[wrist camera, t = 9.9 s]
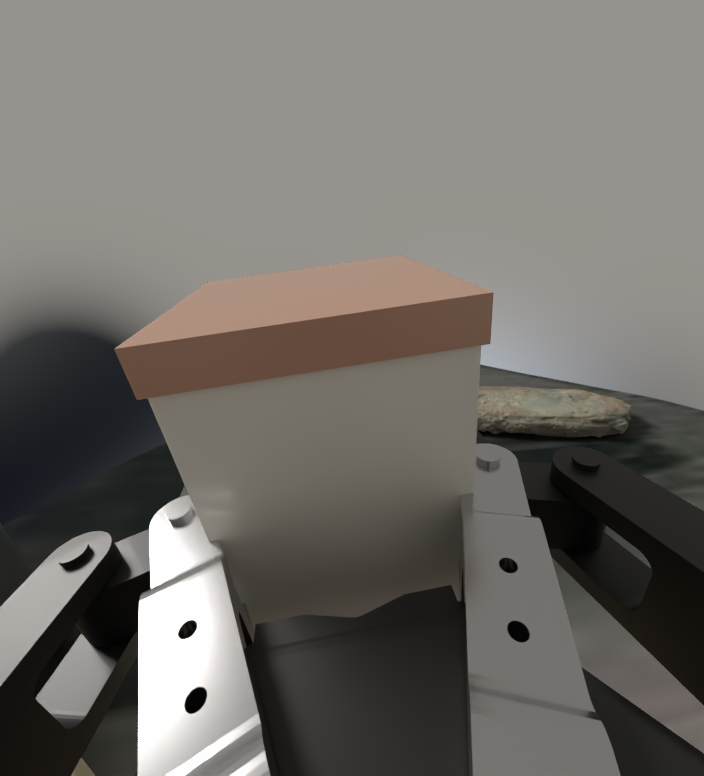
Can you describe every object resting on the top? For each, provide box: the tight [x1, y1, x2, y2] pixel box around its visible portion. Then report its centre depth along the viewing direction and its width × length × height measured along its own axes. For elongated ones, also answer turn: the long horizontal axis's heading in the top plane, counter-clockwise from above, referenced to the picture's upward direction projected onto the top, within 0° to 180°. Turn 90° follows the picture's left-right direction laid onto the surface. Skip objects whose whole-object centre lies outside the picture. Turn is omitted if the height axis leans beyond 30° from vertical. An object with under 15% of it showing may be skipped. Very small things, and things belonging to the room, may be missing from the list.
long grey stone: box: [477, 386, 632, 438], centre depth 43 cm, size 35×5×10 cm
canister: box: [115, 255, 493, 630], centre depth 10 cm, size 5×5×11 cm
